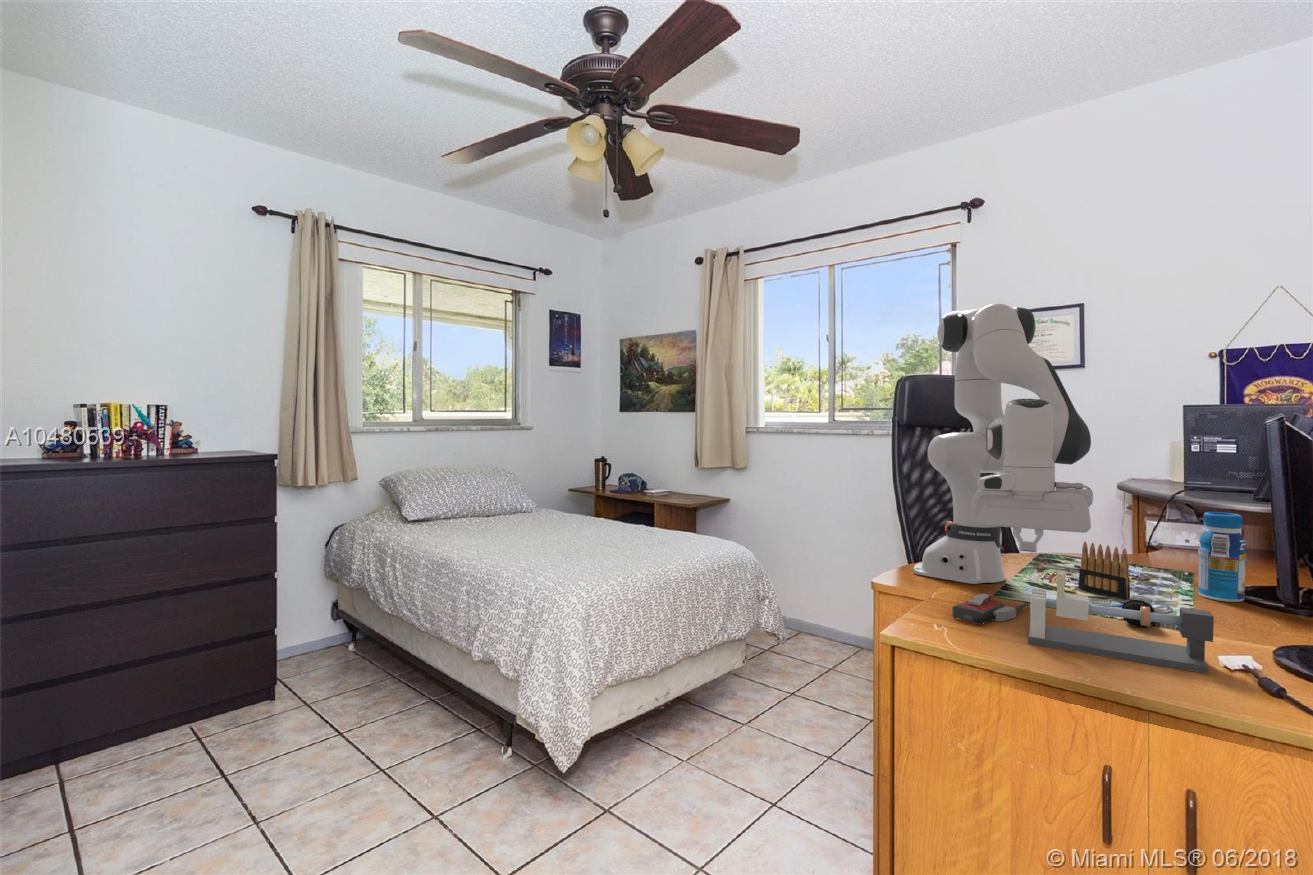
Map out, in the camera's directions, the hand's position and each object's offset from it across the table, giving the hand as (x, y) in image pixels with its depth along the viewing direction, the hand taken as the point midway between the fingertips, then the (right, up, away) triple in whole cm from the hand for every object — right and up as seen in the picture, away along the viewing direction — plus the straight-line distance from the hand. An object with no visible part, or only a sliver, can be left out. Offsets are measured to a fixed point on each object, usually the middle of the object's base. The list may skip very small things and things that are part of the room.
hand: (1028, 551), depth 121 cm
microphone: (+32, -17, +10) cm, 37 cm away
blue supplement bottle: (+61, -16, +25) cm, 67 cm away
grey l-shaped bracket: (+6, -12, -3) cm, 14 cm away
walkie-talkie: (0, -17, +14) cm, 22 cm away
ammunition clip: (+36, -16, +29) cm, 49 cm away
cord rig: (+11, -17, -7) cm, 21 cm away
